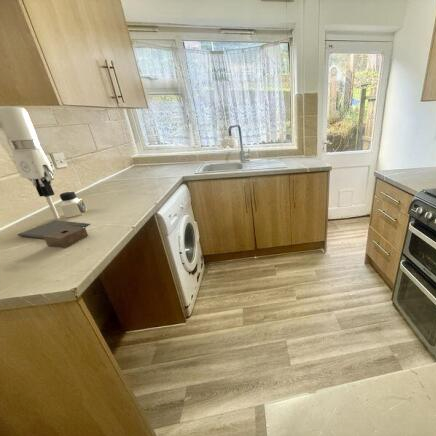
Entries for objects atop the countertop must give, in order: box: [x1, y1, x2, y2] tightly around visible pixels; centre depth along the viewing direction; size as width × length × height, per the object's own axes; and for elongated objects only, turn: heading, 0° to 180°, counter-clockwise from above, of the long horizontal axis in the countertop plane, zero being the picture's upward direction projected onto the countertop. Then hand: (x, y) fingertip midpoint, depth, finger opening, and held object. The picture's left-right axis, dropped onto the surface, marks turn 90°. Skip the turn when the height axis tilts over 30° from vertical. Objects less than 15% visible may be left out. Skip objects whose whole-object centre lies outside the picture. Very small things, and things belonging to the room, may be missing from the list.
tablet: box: [17, 219, 91, 240], centre depth 110 cm, size 15×22×1 cm
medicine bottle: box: [59, 191, 88, 218], centre depth 125 cm, size 7×7×12 cm
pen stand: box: [43, 226, 89, 249], centre depth 99 cm, size 9×9×4 cm
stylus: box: [39, 183, 60, 220], centre depth 93 cm, size 1×1×15 cm
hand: (47, 195), depth 92 cm, fingers closed on stylus, 1 cm apart
